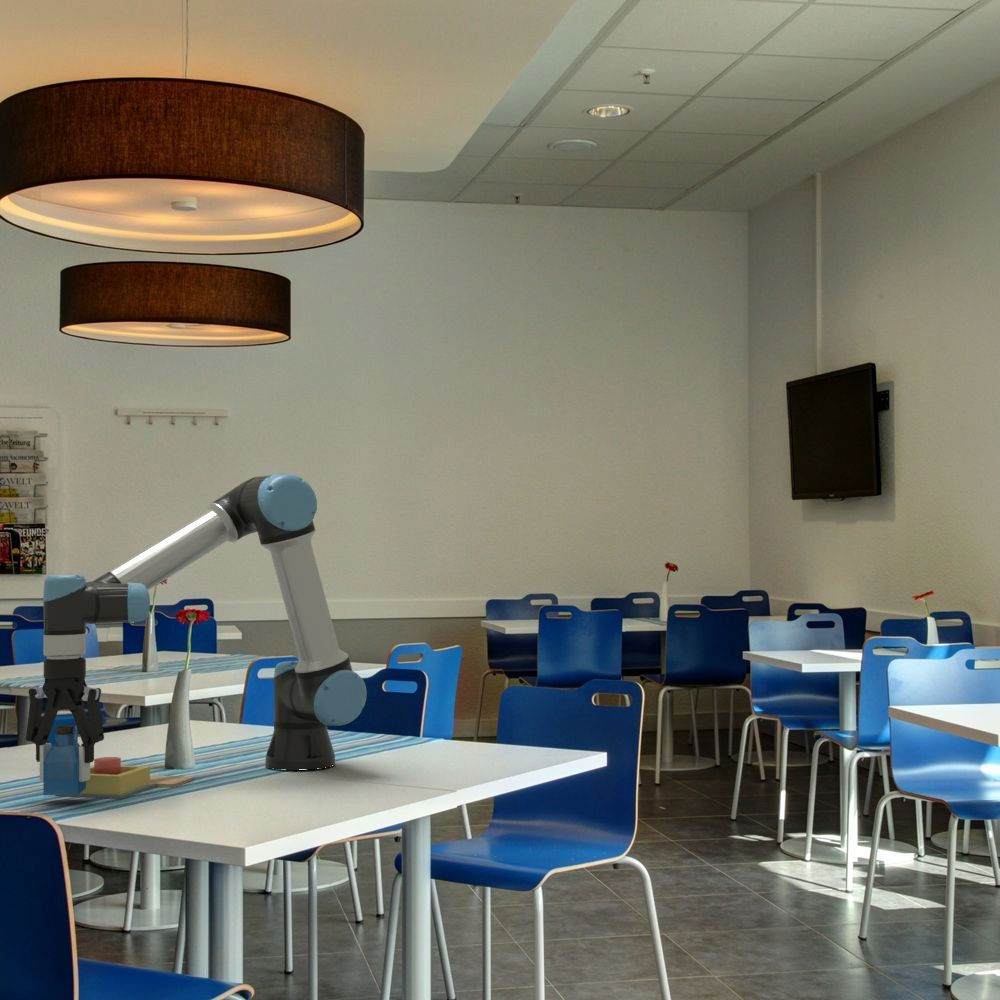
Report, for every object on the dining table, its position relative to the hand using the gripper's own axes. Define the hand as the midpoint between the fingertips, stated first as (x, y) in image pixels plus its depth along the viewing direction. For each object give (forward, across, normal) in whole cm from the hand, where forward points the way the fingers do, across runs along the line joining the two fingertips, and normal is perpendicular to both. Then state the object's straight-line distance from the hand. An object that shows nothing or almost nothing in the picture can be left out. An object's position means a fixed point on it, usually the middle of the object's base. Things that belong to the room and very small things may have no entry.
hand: (65, 779), depth 243 cm
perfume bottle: (+2, 0, 0) cm, 2 cm away
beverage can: (+5, +22, -37) cm, 43 cm away
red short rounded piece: (+1, -2, -13) cm, 13 cm away
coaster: (+5, -8, -24) cm, 25 cm away
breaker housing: (+4, -2, -13) cm, 13 cm away
